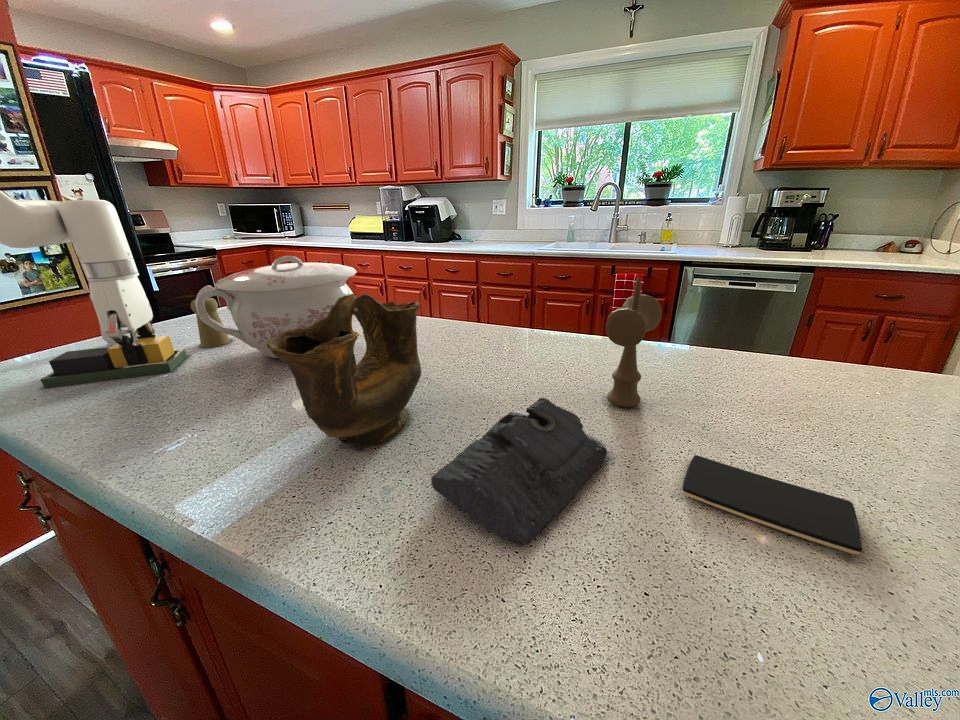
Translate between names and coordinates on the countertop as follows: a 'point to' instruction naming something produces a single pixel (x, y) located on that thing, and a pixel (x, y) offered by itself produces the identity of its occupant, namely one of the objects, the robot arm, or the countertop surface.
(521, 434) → the dark slate chunk
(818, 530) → the smartphone
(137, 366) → the tray
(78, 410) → the countertop surface
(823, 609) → the countertop surface
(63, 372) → the charcoal pad
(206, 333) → the olive knobbed cylinder
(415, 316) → the pottery vessel
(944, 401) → the countertop surface
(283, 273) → the chamber pot
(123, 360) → the mustard pad
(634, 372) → the kendama
